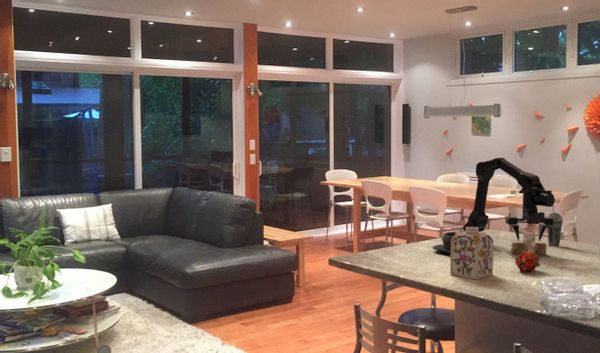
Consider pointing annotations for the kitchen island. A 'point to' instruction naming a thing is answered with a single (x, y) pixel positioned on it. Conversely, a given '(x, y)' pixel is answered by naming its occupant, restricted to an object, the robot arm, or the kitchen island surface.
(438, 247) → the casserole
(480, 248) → the decorative jar
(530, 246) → the upright wooden plank
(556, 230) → the beverage cup
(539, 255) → the rubber mat
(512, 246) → the walnut board
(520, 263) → the dragon fruit
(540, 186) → the robot arm
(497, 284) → the kitchen island surface
